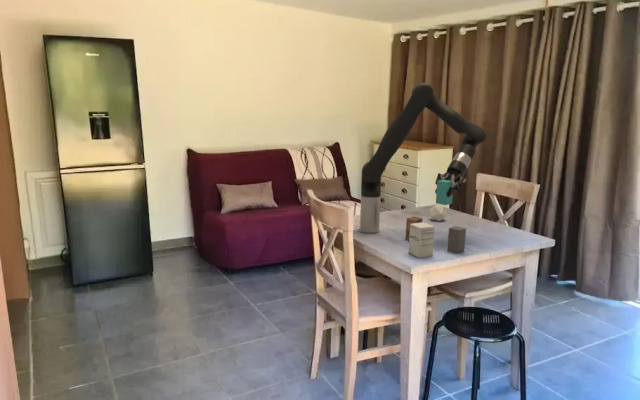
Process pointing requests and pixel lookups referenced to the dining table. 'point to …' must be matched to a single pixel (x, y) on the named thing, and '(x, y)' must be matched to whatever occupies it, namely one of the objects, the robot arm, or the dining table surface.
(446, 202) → the teal block
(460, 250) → the charcoal block
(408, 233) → the walnut block
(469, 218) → the dining table surface
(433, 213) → the die
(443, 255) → the dining table surface
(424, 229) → the supplement box
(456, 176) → the robot arm
